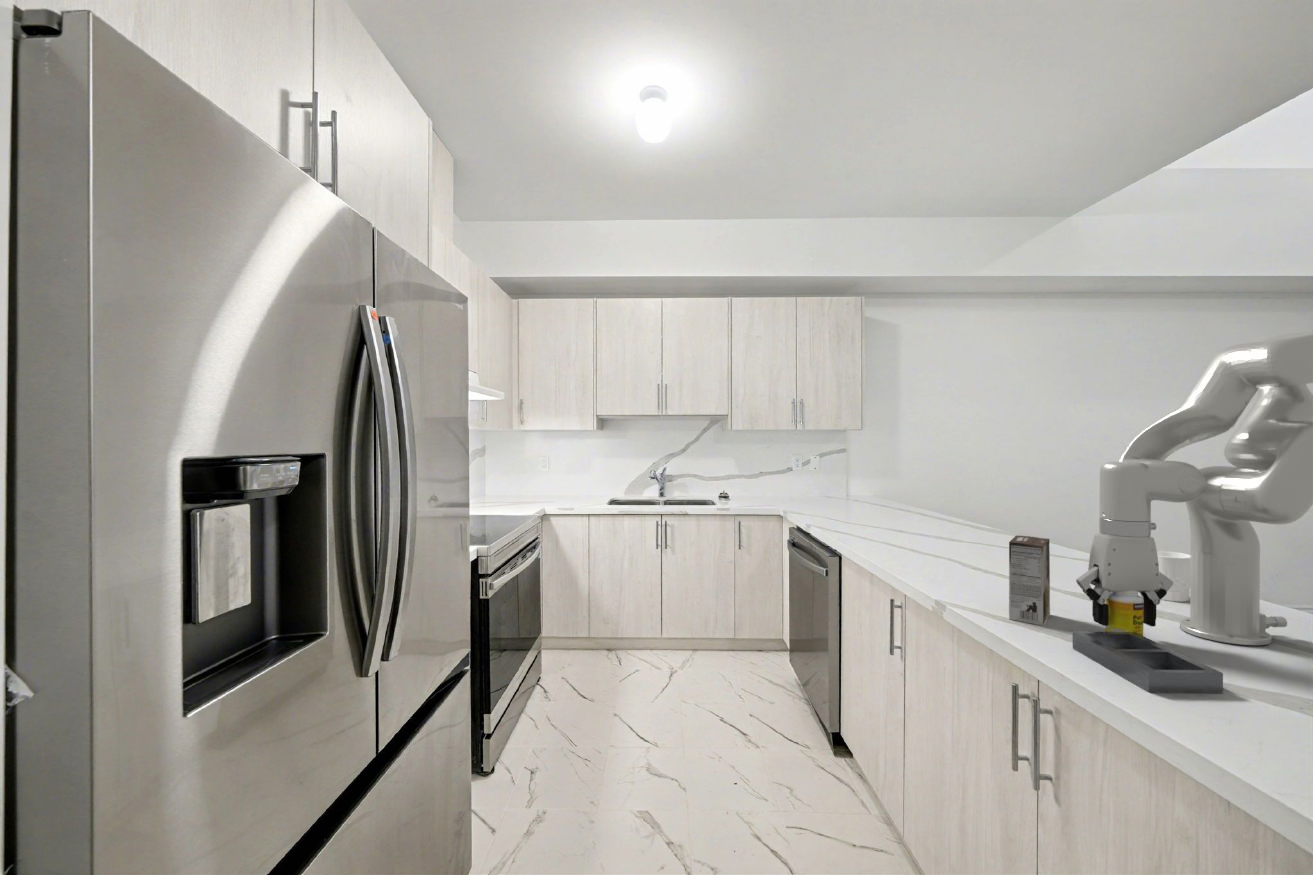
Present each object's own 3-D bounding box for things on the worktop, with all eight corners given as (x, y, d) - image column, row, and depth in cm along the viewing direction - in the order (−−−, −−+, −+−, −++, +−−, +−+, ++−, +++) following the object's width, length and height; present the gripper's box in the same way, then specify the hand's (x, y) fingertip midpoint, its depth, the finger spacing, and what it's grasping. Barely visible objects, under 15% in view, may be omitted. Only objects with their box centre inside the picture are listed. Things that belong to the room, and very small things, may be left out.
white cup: (1138, 595, 141) (1139, 552, 141) (1162, 592, 144) (1163, 549, 144) (1176, 604, 134) (1176, 559, 134) (1201, 600, 136) (1201, 556, 136)
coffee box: (1015, 609, 132) (1015, 534, 131) (1050, 614, 128) (1050, 537, 127) (1007, 619, 125) (1007, 541, 124) (1044, 625, 121) (1044, 544, 120)
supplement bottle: (1136, 646, 109) (1136, 589, 109) (1100, 638, 113) (1100, 583, 113) (1148, 640, 112) (1148, 585, 112) (1113, 632, 116) (1113, 579, 116)
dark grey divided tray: (1072, 648, 108) (1072, 631, 108) (1134, 648, 108) (1134, 632, 108) (1148, 692, 90) (1148, 672, 90) (1222, 693, 90) (1222, 673, 90)
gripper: (1158, 525, 115) (1157, 618, 116) (1063, 525, 116) (1062, 617, 117) (1190, 532, 108) (1190, 631, 108) (1088, 532, 109) (1088, 630, 109)
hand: (1124, 623), depth 113 cm, fingers open, 7 cm apart
